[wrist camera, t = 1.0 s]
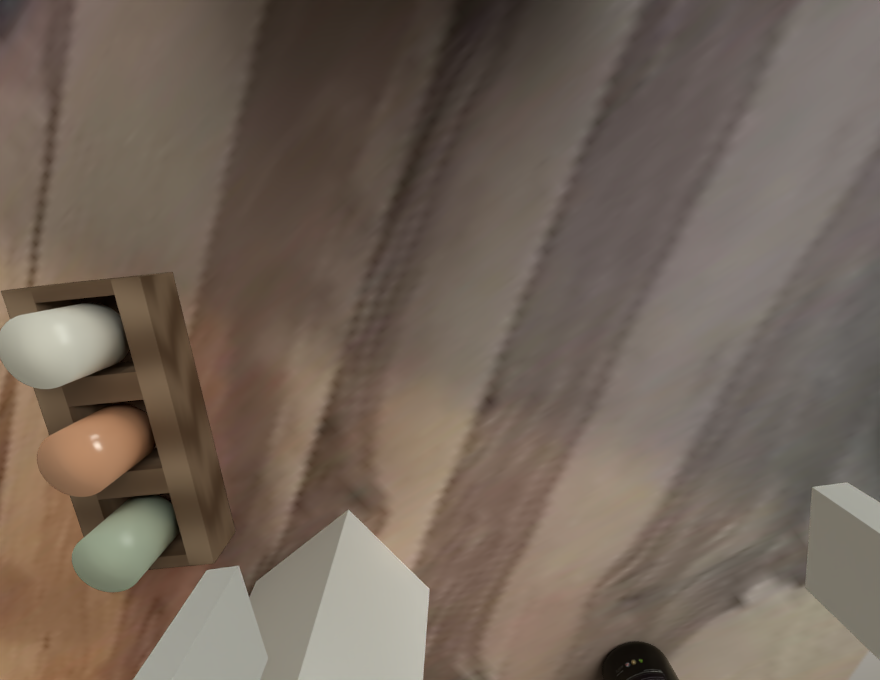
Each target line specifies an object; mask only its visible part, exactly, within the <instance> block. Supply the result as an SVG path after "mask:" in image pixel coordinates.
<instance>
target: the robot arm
mask: <svg viewBox="0 0 880 680" xmlns="http://www.w3.org/2000/svg"><path fill="white" fill-rule="evenodd" d="M805 588H806V589H807V590H808V591H809V592H810V593H811V594H812V595H813V596H814V597H815V598H816V599H817V600H818V601H819V602H820V603H821V604H822V605H823V606H824V607H825V608H826V609H827V610H828V611H829V612H830V613H832V614H833V615H834V616H835V617H836V618H837V619H838V620H839V621H840V622H841V623H842V624H843V625H844V626H845V627H846V628H847V629H848V630H849V631H850V632H851V633H852V634H853V635H854V636H855V637H856V638H857V639H858V640H859V641H860V642H861V643H862V644H863V645H864V646H866V647H867V648H868V649H869V650H870V651H871V652H872V653H873V654H874V655H875V656H876V657H877V658H878V659H879V660H880V502H878V501H876V500H875V499H873V498H872V497H870V496H868V495H867V494H865V493H863V492H862V491H860V490H859V489H857V488H855V487H854V486H852V485H850V484H849V483H847V482H846V483H839V484H832V485H824V486H817V487H812V498H811V512H810V527H809V542H808V556H807V571H806V586H805ZM267 660H268V655H267V652H266V649H265V646H264V643H263V640H262V637H261V633H260V630H259V627H258V624H257V621H256V618H255V615H254V611H253V608H252V605H251V602H250V599H249V596H248V593H247V589H246V586H245V583H244V580H243V577H242V574H241V571H240V567H239V566H233V567H226V568H219V569H211V570H207V571H206V572H205V574H204V575H203V577H202V578H201V579H200V581H199V582H198V584H197V585H196V587H195V588H194V590H193V591H192V593H191V594H190V596H189V597H188V599H187V600H186V602H185V603H184V605H183V606H182V608H181V609H180V611H179V612H178V614H177V615H176V617H175V618H174V620H173V621H172V623H171V624H170V626H169V627H168V629H167V630H166V632H165V633H164V635H163V636H162V638H161V639H160V641H159V642H158V643H157V645H156V646H155V648H154V649H153V651H152V652H151V654H150V655H149V657H148V658H147V660H146V661H145V663H144V664H143V666H142V667H141V669H140V670H139V672H138V673H137V675H136V676H135V678H134V679H133V680H260V678H261V676H262V673H263V671H264V668H265V666H266V663H267Z"/></svg>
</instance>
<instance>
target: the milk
mask: <svg viewBox="0 0 880 680" xmlns="http://www.w3.org/2000/svg"><path fill="white" fill-rule="evenodd" d="M249 599H250V602H251V605H252V608H253V611H254V615H255V618H256V621H257V624H258V627H259V630H260V633H261V637H262V640H263V643H264V646H265V649H266V652H267V655H268V660H267V663H266V666H265V668H264V671H263V673H262V676H261V678H260V680H423V671H424V657H425V644H426V630H427V616H428V603H429V588H428V587H427V586H426V585H425V584H424V583H423V582H422V581H421V580H420V579H419V578H418V577H417V576H416V575H415V574H414V573H413V572H412V571H411V570H410V569H409V568H408V567H407V566H406V565H405V564H403V563H402V562H401V561H400V560H399V559H398V558H397V557H396V556H395V555H394V554H393V553H392V552H391V551H390V550H389V549H388V548H387V547H386V546H385V545H384V544H383V543H382V542H381V541H380V540H379V539H378V538H377V537H376V536H375V535H374V534H373V533H372V532H371V531H370V530H369V529H368V528H367V527H366V526H365V525H364V524H363V523H362V522H361V521H360V520H359V519H358V518H357V517H356V516H354V515H353V514H352V513H351V512H350V511H349V510H347V511H346V512H345V513H343V514H342V515H341V516H339V517H338V518H337V519H336V520H334V521H333V522H332V523H330V524H329V525H328V526H327V527H325V528H324V529H323V530H322V531H320V532H319V533H318V534H316V535H315V536H314V537H313V538H311V539H310V540H309V541H307V542H306V543H305V544H304V545H302V546H301V547H300V548H298V549H297V550H296V551H295V552H293V553H292V554H291V555H290V556H288V557H287V558H286V559H284V560H283V561H282V562H281V563H279V564H278V565H277V566H275V567H274V568H273V569H272V570H270V571H269V572H268V573H266V574H265V575H264V576H263V577H261V578H260V579H259V580H258V581H256V583H255V585H254V588H253V590H252V592H251V595H250V597H249Z"/></svg>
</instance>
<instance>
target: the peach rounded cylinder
mask: <svg viewBox="0 0 880 680" xmlns="http://www.w3.org/2000/svg"><path fill="white" fill-rule="evenodd" d="M155 445H156V443H155V439H154V435H153V432H152V428H151V425H150V421H149V417H148V415H147V414H146V413H145V412H144V411H142V410H141V409H139V408H138V407H135V406H133V405H130V404H125V403H115V404H111V405H108V406H106V407H104V408H102V409H100V410H98V411H96V412H94V413H92V414H90V415H88V416H86V417H84V418H83V419H81V420H79V421H77V422H75V423H73V424H71V425H69V426H67V427H65V428H63V429H61V430H59V431H57V432H56V433H54V434H52V435H50V436H48V437H47V438H46V439H45V440H44V441H43V442H42V443H41V445H40V447H39V449H38V453H37V463H38V467H39V470H40V472H41V474H42V476H43V477H44V478H45V480H46V481H47V482H48V483H49V484H50V485H51V486H52V487H54V488H55V489H57V490H58V491H60V492H62V493H64V494H67V495H70V496H75V497H87V496H92V495H95V494H97V493H99V492H101V491H102V490H103V489H105V488H106V487H107V486H109V485H110V484H111V483H112V482H114V481H115V480H116V479H118V478H119V477H120V476H122V475H123V474H124V473H126V472H127V471H128V470H129V469H131V468H132V467H133V466H135V465H136V464H137V463H139V462H140V461H141V460H143V459H144V458H145V457H146V456H148V455H149V454H150V453H151V452H152V451H153V449H154V448H155Z"/></svg>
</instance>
